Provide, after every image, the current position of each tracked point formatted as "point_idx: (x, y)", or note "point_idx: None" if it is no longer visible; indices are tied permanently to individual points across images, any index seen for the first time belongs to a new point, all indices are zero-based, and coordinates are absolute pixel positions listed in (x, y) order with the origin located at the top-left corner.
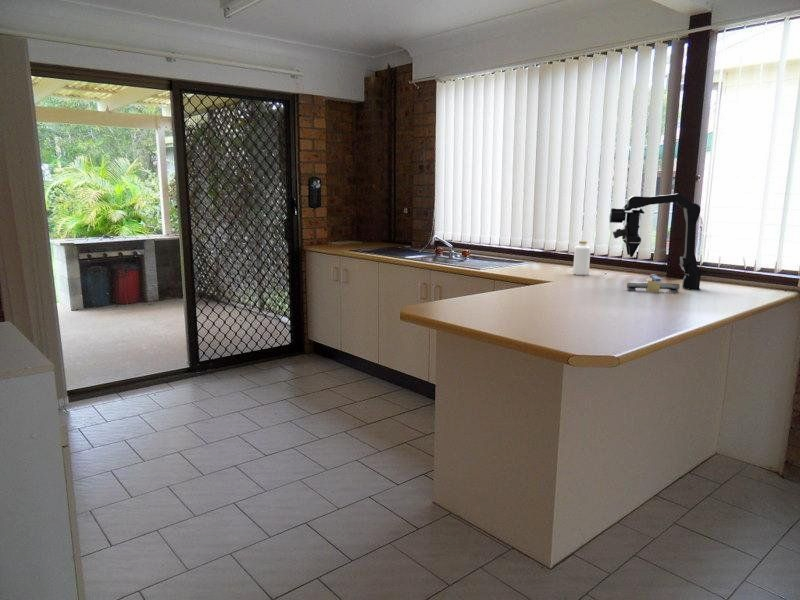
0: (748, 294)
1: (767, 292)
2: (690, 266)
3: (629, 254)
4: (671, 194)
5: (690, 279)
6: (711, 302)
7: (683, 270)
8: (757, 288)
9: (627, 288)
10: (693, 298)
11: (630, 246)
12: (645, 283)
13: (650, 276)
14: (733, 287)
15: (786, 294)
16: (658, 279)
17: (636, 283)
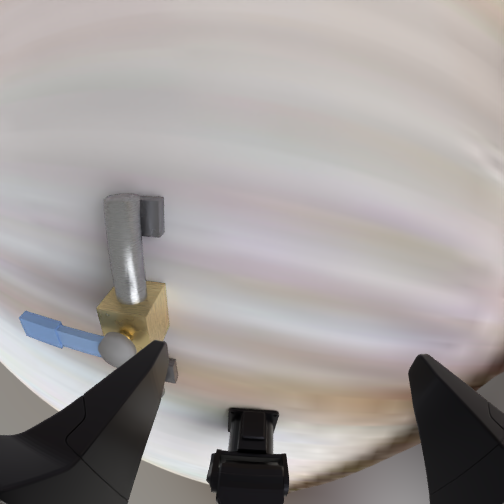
0: (198, 464)
1: None
2: (209, 482)
3: (409, 372)
4: None
5: (230, 443)
6: (54, 377)
7: (270, 462)
8: None
9: (153, 198)
10: (78, 368)
11: (42, 447)
12: (116, 292)
13: (109, 335)
14: (290, 469)
15: None
16: (24, 325)
17: (108, 248)
